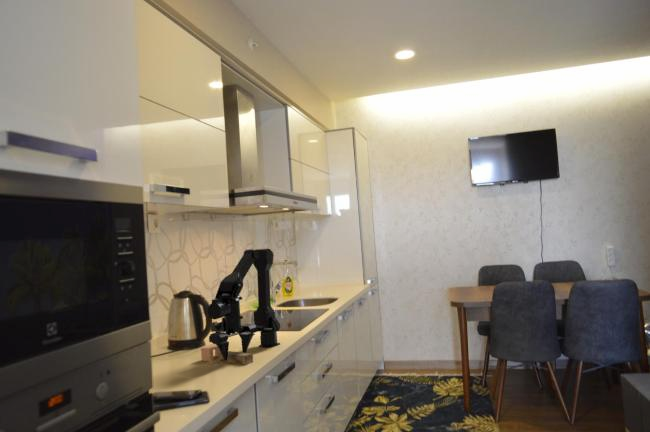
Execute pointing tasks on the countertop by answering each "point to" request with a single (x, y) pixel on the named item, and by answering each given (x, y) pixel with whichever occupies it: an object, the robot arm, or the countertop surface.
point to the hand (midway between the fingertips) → (235, 356)
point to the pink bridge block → (209, 352)
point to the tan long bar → (238, 357)
